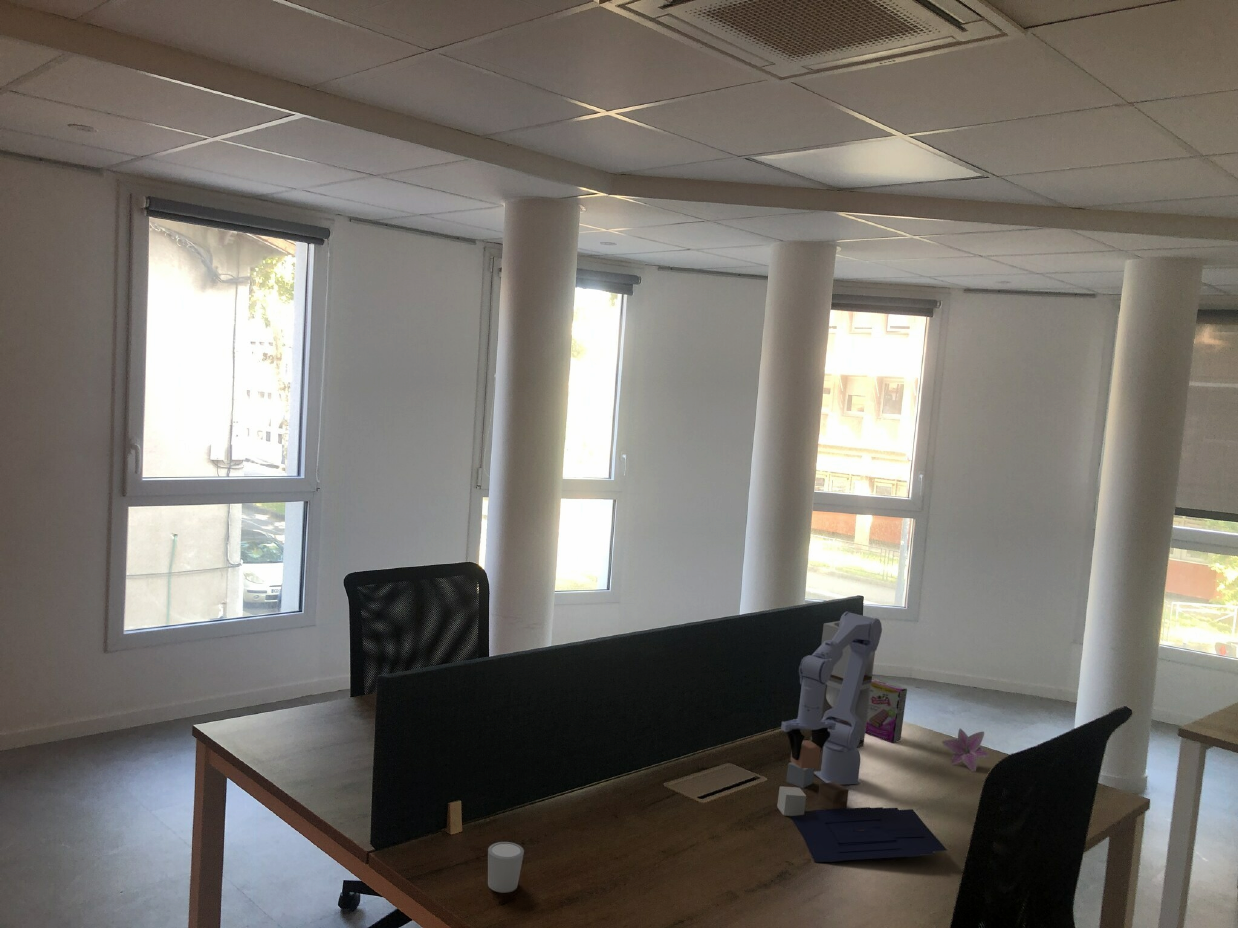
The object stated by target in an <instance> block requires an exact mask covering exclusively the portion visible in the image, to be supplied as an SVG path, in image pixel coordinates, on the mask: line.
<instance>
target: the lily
mask: <svg viewBox="0 0 1238 928" xmlns="http://www.w3.org/2000/svg"><path fill="white" fill-rule="evenodd" d="M957 733H958V734H957V738H955V739H954V738H952V739H945V740H942V741H941V744H942V745H943V746H944V747H946V749H948V750H950V751H951V752H952V753H953V756H952V758H951V760H950V765H951V766H954V765H956V764H959V763H961V762H963V763H964V764H965V766H966V767H967V768H968V770H970V771H971V772H972V771H975V772H976V769H977V763H978V758H986V757H990V756H991V755H990V753H989V752H987V750H985V749H983V748H982V747H981V745H982V742H983V739H984V737H985V731H982V730H981V731H979V732H975V733H973V734H971V735H969V736H968V734H967V733H966V732H965V731H964V730H963V729H962V728H959V730H958V732H957Z"/></svg>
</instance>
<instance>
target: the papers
mask: <svg viewBox="0 0 1238 928" xmlns="http://www.w3.org/2000/svg"><path fill="white" fill-rule="evenodd" d="M789 817H790V819H791V821H792V822H793V824H794V826H796V829H797V831H799V832H800V833H799V834H800V835H801V836H802V838H803V840H804V843H805V844H806V846H807V849H808V851H809V853H810V855H811V857H812V859H813V862H814V863H824V862H825V863H826V862H830V863H833V862H843V861H852V860H853V861H854V860H869V859H882V858H883V859H884V858H885V859H887V858H902V857H903V858H910V857H911V858H912V857H913V858H914V857H921V856H925V855H926V856H927V855H935V852H944V851H945V852H947V851H948V849H947V848H946V847H945V846H944V845H943V843H942V842H941V841H940V840H939V838H937V837H936V835H935V834H934V833H933V832H932V831H931V830H930V828H929V827H928V826H927V825H926V823H924V821H923V820H922V819H921V817H919V815H918V814H917V813H916V812H915V810H914V809H913V808H909V809H899V808H898V807H883V806H881V807H879V806H878V807H870V806H868V807H867V806H864V807H850V808H849V807H848V808H845V809H826V808H825V809H813V810H805V811H804V815H796V816H789Z"/></svg>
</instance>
